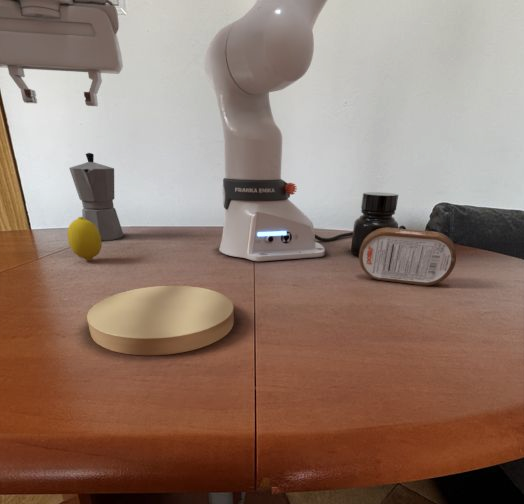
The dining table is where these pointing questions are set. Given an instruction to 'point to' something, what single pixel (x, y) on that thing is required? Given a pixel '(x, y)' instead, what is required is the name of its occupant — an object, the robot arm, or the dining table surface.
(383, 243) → the tin
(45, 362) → the dining table surface
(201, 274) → the dining table surface
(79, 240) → the lemon
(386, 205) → the ink bottle
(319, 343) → the dining table surface
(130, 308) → the birch disc
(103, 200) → the coffeepot
